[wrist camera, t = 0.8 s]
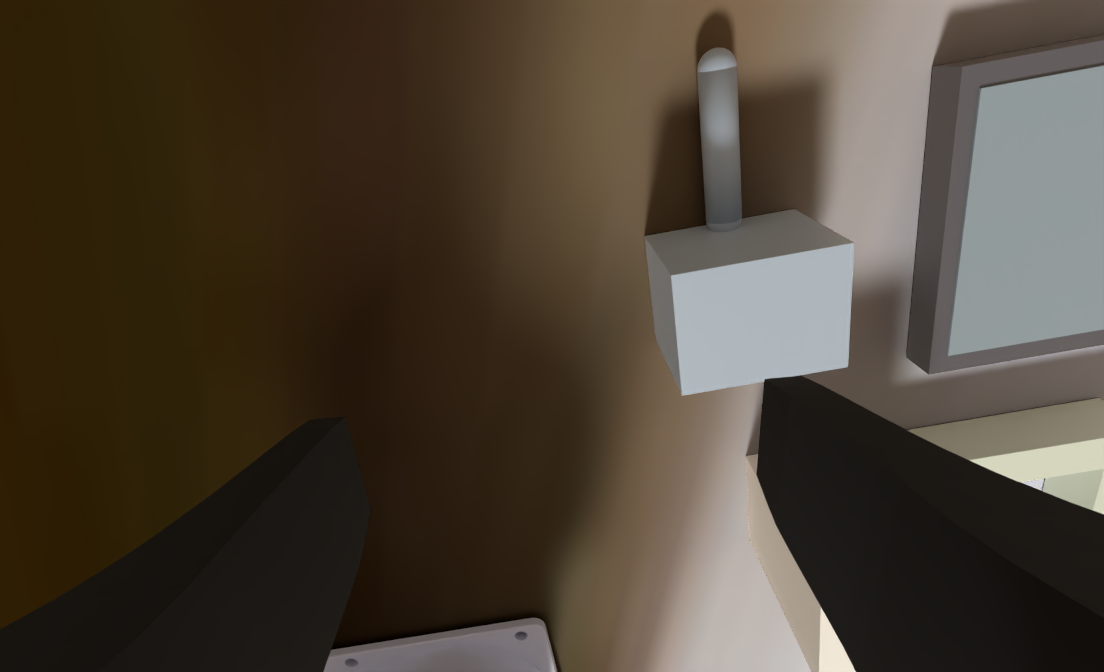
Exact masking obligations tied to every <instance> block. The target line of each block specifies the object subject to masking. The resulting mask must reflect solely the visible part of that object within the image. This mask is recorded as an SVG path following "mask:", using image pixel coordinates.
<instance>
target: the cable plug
mask: <svg viewBox="0 0 1104 672" xmlns="http://www.w3.org/2000/svg"><path fill="white" fill-rule="evenodd" d="M697 80H698V96H699V112H700V129H701V145H702V161H703V178H704V194H705V211H706V223H707V225H703V226H698V227H692V228H687V229H681V230H676V231H670V232H665V233H659V234H654V235H648V236H644V237H645V246H646V255H647V264H648V273H649V283H650V292H651V301H652V310H653V320H654V329H655V338H656V341H657V344H658V346H659V348H660V350H661V352H662V354H663V356H664V358H665V361H666V363H667V365H668V367H669V369H670V371H671V373H672V376H673V378H674V380H675V382H676V384H677V386H678V388H679V390H680V393H681V395H682V396H683V395H689V394H695V393H700V392H706V391H712V390H718V389H724V388H730V387H735V386H741V385H747V384H753V383H759V382H764V380H765V379H769V378H780V377H792V376H799V375H805V374H811V373H817V372H822V371H828V370H834V369H840V368H846V367H848V358H849V338H850V318H851V298H852V279H853V259H854V242H852V241H850V240H849V239H847V238H845V237H843V236H841V235H840V234H838V233H836V232H834V231H833V230H831V229H829V228H827V227H826V226H824V225H822V224H820V223H819V222H817V221H815V220H813V219H811V218H810V217H808V216H806V215H804V214H803V213H801V212H799V211H797V210H796V209H792V210H786V211H781V212H775V213H770V214H764V215H759V216H753V217H747V218H742V197H741V168H740V139H739V109H738V80H737V62H736V59H735V57H734V55H733V54H732V52H731V51H729V50H728V49H725V48H721V47H718V48H713V49H711V50H709V51H707V52H706V53H705V54H704V55H703V56H702V57H701V59H700V61H699V63H698V67H697Z"/></svg>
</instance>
